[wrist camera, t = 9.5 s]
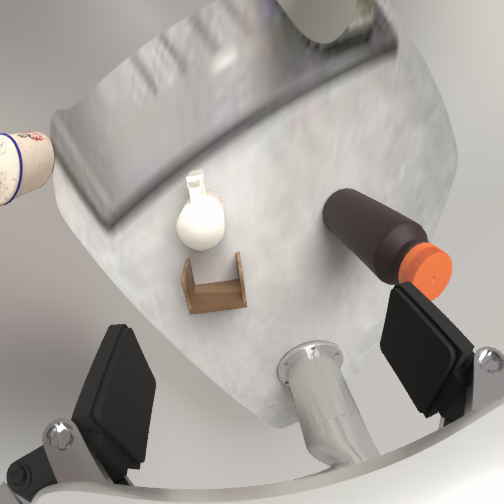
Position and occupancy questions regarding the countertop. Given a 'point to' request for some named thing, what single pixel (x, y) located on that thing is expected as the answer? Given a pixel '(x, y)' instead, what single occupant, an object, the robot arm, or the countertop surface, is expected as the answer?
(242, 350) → the countertop surface
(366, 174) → the countertop surface
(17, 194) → the teacup with lid
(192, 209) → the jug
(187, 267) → the caddy
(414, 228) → the bottle
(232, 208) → the countertop surface
